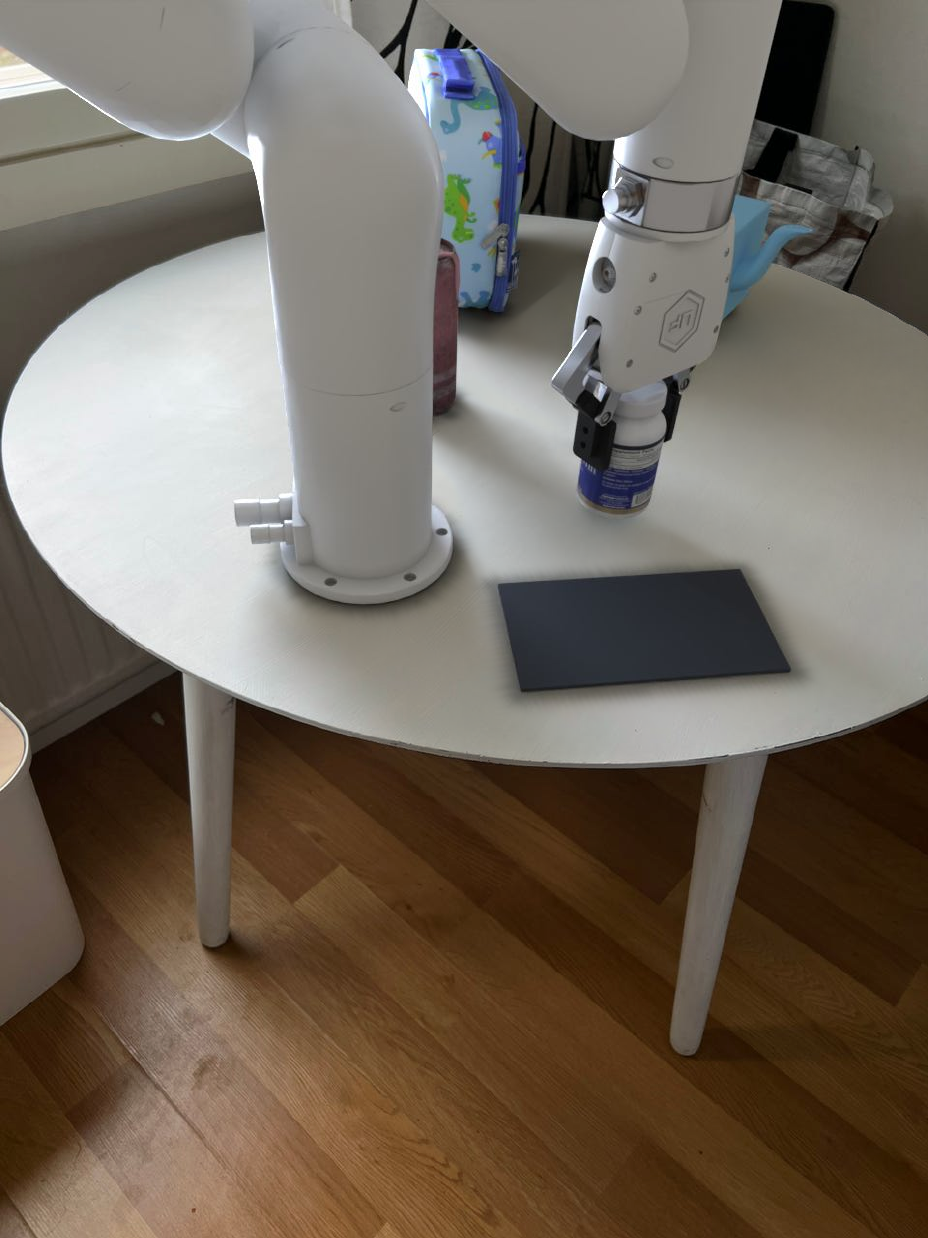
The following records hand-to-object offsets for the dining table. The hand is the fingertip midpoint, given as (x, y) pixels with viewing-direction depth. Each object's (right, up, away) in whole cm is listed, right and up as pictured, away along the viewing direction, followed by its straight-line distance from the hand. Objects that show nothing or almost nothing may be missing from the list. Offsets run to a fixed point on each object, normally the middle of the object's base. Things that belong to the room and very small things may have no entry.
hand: (622, 445), depth 68 cm
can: (-15, +7, +15) cm, 23 cm away
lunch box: (-13, +25, +34) cm, 44 cm away
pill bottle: (0, -4, +4) cm, 5 cm away
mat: (0, -13, -5) cm, 14 cm away
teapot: (+13, +18, +29) cm, 36 cm away
